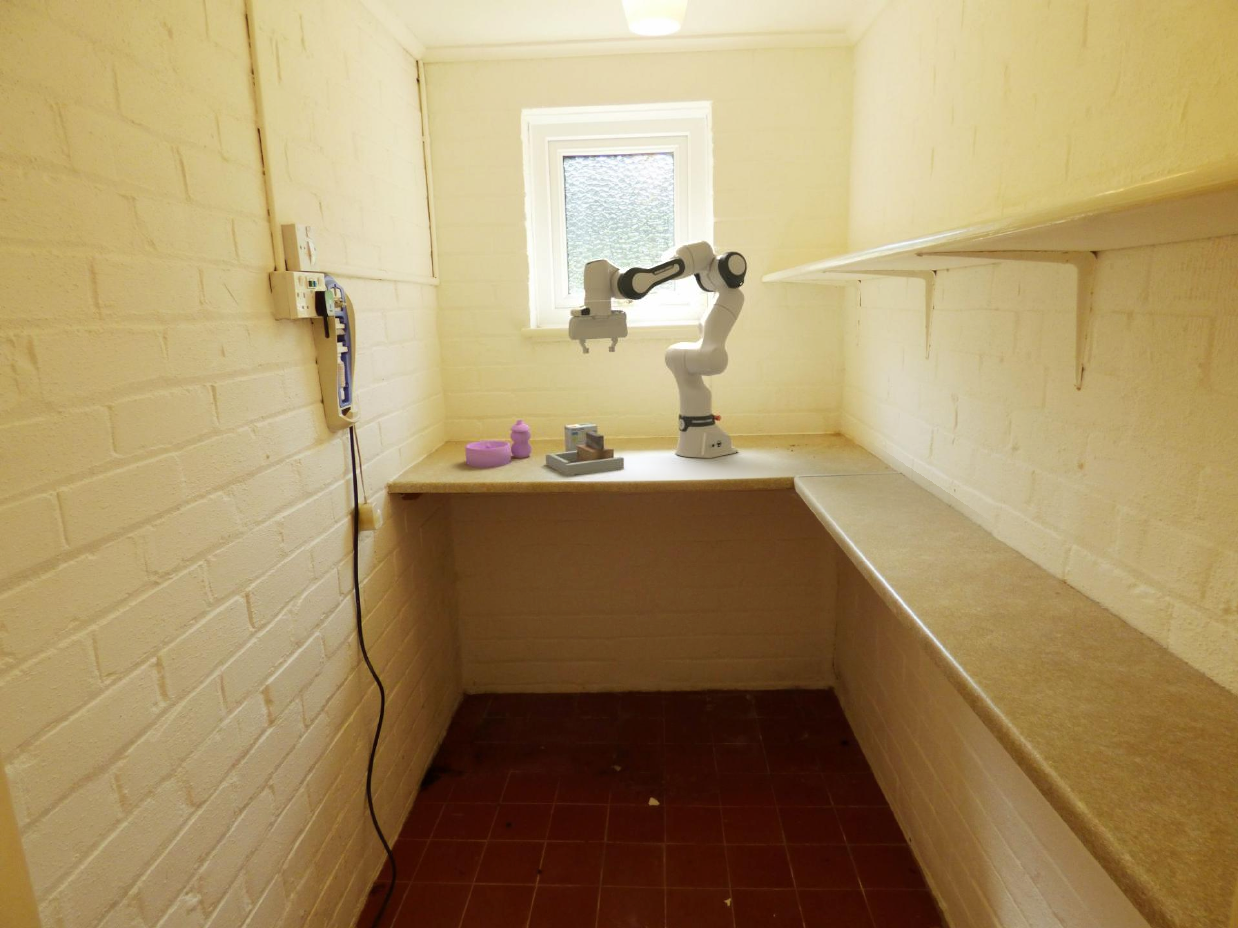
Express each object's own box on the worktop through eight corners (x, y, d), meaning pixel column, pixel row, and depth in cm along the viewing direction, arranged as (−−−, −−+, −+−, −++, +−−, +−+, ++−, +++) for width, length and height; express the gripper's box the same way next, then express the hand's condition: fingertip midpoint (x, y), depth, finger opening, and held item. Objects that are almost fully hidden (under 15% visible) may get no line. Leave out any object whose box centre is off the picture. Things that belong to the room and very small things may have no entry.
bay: (599, 457, 253) (599, 446, 252) (623, 468, 237) (623, 456, 236) (546, 464, 245) (545, 452, 244) (567, 475, 228) (567, 463, 227)
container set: (481, 470, 239) (478, 431, 236) (458, 463, 250) (455, 425, 247) (542, 458, 255) (540, 421, 252) (518, 451, 266) (516, 416, 263)
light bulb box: (591, 451, 265) (590, 422, 262) (599, 454, 259) (598, 424, 256) (564, 454, 260) (563, 424, 258) (571, 457, 254) (570, 427, 252)
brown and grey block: (598, 459, 249) (597, 430, 247) (613, 466, 239) (613, 435, 237) (577, 462, 246) (576, 432, 244) (592, 469, 235) (591, 438, 233)
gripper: (621, 309, 242) (622, 350, 246) (565, 310, 234) (567, 353, 237) (630, 309, 237) (631, 351, 240) (573, 311, 228) (574, 354, 231)
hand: (599, 352), depth 238 cm, fingers open, 8 cm apart
